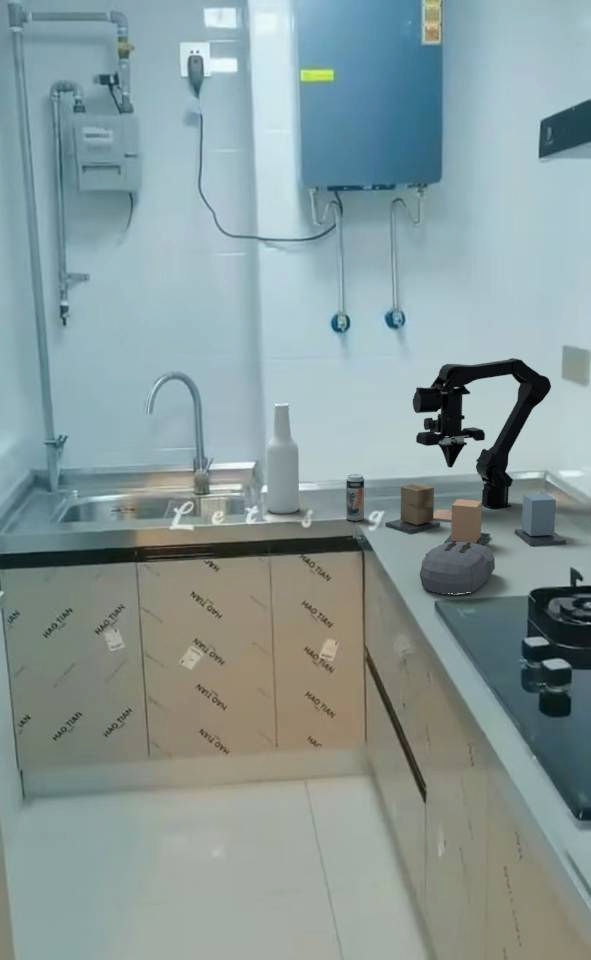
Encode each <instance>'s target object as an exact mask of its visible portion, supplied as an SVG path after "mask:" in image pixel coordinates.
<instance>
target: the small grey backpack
mask: <svg viewBox="0 0 591 960" xmlns="http://www.w3.org/2000/svg"><path fill="white" fill-rule="evenodd" d="M495 563H496V561H495V556H494V554H493V553H492V551H491V549H490V548H489V547H488V546H486V545H484V546H483V545H480V544H475V543H470V542H457V541H453V542H447V543H444V542H443V543H442V544H439V545H438V546H436V547H434V548H431V549H430V550H429V551H428V552H427V553H426V554H425V557H424V558H423V559H422V560H421V566H420V567H421V568H420V570H419V571H420V572H419V578H420V581H421V586H422V587H423V588H424V589H426V590H427V591H429V592H431V591H432V593H435V592H437V593H436V594H439V593H442V594H441V595H443V593H444V594H448V593H450V594H451V593H453V594H457V593H466V592H472V591H473V592H475V591H477V590H478V589H480V587H482V586H483V585H484V584H485V583H486V582H487V581H488V579H490V577H491V575H492V573H493V572H494V571H495V569H496V567H495V566H496V564H495ZM483 583H484V584H483ZM482 584H483V585H482ZM481 585H482V586H481ZM477 588H478V589H477ZM476 589H477V590H476ZM473 592H472V593H473Z"/></svg>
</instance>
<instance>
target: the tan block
mask: <svg viewBox="0 0 591 960" xmlns="http://www.w3.org/2000/svg"><path fill="white" fill-rule="evenodd" d="M482 506H483V505H482V500H475V499H474V500H471V499H460V498H457V499H456V500H455V501H454V502H453V504H451V511H452V522H451V524H450V525H451V527H450V528H451V531H450V533H451V534H450V535H451V541H458V542H470V543H476V542H477V541H478V540H479V538H480V537H481V533H482V511H483V509H482Z"/></svg>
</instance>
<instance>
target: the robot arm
mask: <svg viewBox="0 0 591 960" xmlns="http://www.w3.org/2000/svg"><path fill="white" fill-rule="evenodd" d="M510 375H511V376H512V377H513V379H514V380H515V381H516V382H518V383H519V386H518V389H517V400H516V403H515V405H514V406H513V408H512V410H511V412H510V413H509V416H508V417H507V419H506V420H505V422H504V425H503V427H502V428H501V430H500V432H499V434H498V436H497V438H496V439H495V441H494V444H493V445H492V446H491V447H490V448H488V449H486V448H482V450H481V452H480V455H479V457H477V459H476V461H475V462H476V465H475V470H476V472H477V474H478V475H479V476H480V478H481V481H482V482H483V489H482V491H481V492H482V495H481V498H482V499H481V501H482V506H485V507H487V508H489V509H499V508H500V509H501V508H509V507H512V504H511V503H509V489H510V487H512V484H513V481H514V479H513V478H512V477H511V476H510V475H509V474H508V473H507V472H506V471H507V468H508V466H509V454H510V453H511V450H512V448H513V447H514V445H515V442H516V441H517V439H518V437H519V435H520V434H521V432H522V429H523V427H524V426H525V424H526V422H527V420H528V418H529V416H530V415H531V413H532V411H533V410H534V409H535V407H536V406H538V405H539V404H540V403H541V402H543V400H544V399H545V398H546V396H547V395H548V394H549V393H550V390H551V389H552V385H551V380H550V378H548V377H547V376H545V375H542V374H540V373H539V372H538V371H536V370H534V369H532V368H531V367H530V366H529V365H527V364H526V363H525V362H524V361H523V360H521V359H520V358H513V357H510V358H508V359H505V360H498V361H497V360H496V361H490V362H485V363H477V364H461V363H460V364H459V363H445V364H444V365H443V364H442V366H441V368H440V369H439V371H438V375H437V377H436V378H435V379H434V381H433V383H432V384H431V385H430V387H416V390H415V393H414V394H413V398H412V407H413V411H414V413H416V414H421V413H422V414H424V413H438V411H439V410H440V413H438V414H437V419H433V417H425V418H424V419H423V429H424V430H425V431H422V432H421V431H419V432H418V433H417V435H416V438H415V439H416V441H415V443H417V444H420V445H422V446H426V447H427V446H428V447H429V446H430V447H431V446H438V447H439V448H440V450H441V452H442V454H443V456H444V459H445V463H446V466H447V468H453V466H454V464H455V463H456V461H457V459H458V457H459V455H460V453H461V451H462V450H463V448H464V447H465V446H467V445H468V442H466V441H465V439H473V441H476V442H478V441H481V442H482V441H485V440H486V433H485V431H484V430H483V429H481V428H478V427H474V426H473V427H463V429H462V426H463V424H462V423H463V420H465V418H466V417H465V415H463V395H465V396H466V395H471V391H470V390H468V388H467V387H466V385H468V384H471V383H473V382H474V381H477V380H482V379H483V380H485V379H490V378H495V377H502V376H510ZM484 482H485V483H484Z"/></svg>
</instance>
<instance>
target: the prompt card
mask: <svg viewBox="0 0 591 960" xmlns="http://www.w3.org/2000/svg"><path fill="white" fill-rule="evenodd" d="M433 520H434V521H437V522H448V523H452V510H451V509H449V510H448V509H436V510H435V511H434V512H433Z"/></svg>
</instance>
